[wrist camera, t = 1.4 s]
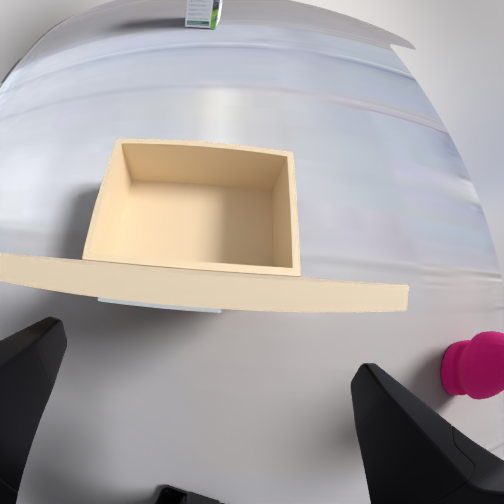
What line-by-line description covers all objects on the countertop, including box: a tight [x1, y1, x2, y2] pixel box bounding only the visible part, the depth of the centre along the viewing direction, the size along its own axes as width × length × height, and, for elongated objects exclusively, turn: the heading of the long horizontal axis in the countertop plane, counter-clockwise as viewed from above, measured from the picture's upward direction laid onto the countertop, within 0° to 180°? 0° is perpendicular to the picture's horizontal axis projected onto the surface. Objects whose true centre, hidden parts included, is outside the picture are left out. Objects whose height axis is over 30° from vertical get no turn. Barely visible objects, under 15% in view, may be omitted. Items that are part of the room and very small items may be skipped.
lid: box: [0, 253, 409, 313], centre depth 12 cm, size 10×14×1 cm
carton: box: [82, 139, 300, 277], centre depth 21 cm, size 10×14×6 cm
